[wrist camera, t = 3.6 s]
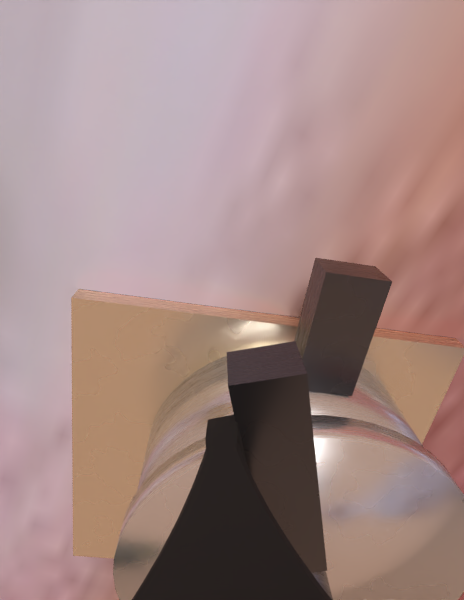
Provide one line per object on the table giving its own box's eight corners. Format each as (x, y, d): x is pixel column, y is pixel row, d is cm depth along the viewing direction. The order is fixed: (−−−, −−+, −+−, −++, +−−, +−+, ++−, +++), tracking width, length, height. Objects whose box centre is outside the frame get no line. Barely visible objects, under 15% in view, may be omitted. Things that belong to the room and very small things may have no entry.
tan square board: (488, 265, 18) (602, 324, 13) (355, 560, 27) (390, 669, 22) (78, 203, 17) (10, 241, 11) (78, 540, 25) (40, 653, 20)
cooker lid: (450, 621, 19) (486, 696, 17) (165, 658, 20) (157, 736, 17) (490, 288, 12) (564, 333, 9) (33, 362, 13) (-14, 423, 10)
